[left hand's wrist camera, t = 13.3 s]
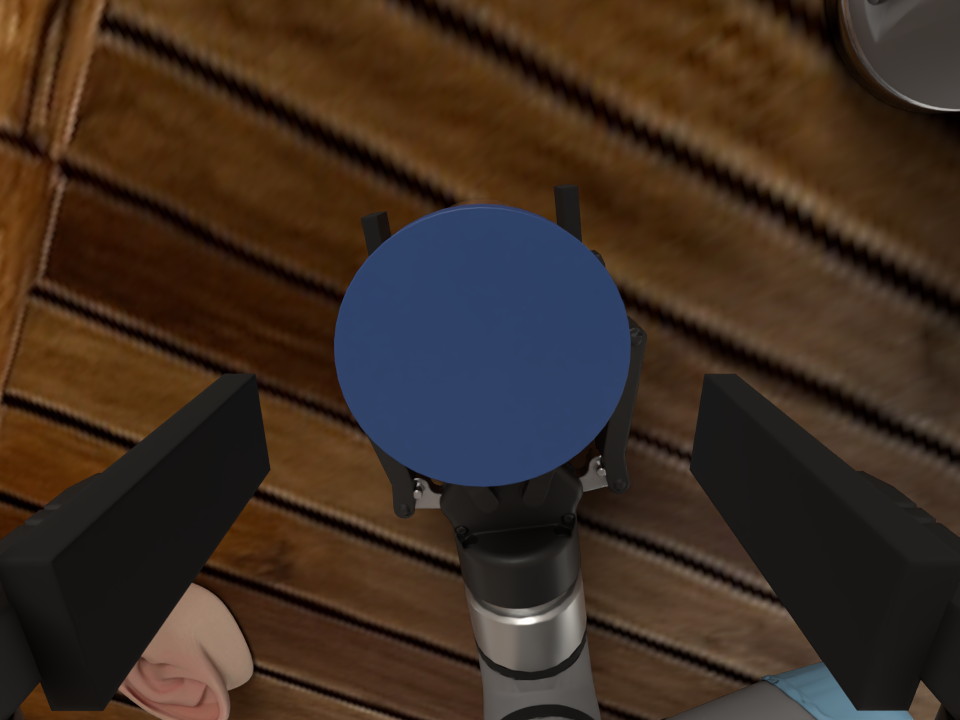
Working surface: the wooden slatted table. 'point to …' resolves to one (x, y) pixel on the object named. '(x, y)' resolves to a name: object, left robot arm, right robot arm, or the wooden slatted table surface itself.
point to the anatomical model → (191, 662)
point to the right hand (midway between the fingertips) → (468, 200)
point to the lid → (482, 345)
